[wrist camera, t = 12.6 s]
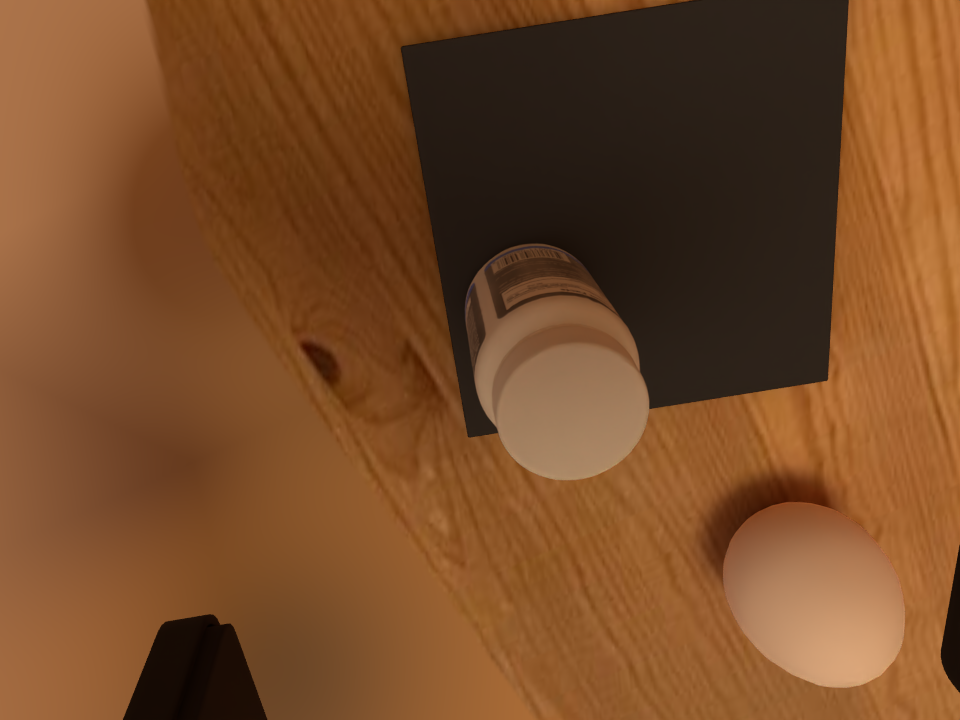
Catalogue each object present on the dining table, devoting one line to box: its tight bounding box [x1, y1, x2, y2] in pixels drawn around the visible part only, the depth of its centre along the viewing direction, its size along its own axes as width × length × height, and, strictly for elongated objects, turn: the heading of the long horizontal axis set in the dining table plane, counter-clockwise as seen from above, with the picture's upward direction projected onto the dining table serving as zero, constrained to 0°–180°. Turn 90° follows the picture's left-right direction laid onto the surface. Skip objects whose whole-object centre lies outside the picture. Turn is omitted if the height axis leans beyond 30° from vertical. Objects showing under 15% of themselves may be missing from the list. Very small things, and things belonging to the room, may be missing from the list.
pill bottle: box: [465, 244, 649, 480], centre depth 23 cm, size 5×5×8 cm
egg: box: [723, 502, 905, 688], centre depth 29 cm, size 6×6×8 cm
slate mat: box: [401, 0, 849, 437], centre depth 26 cm, size 14×14×1 cm
